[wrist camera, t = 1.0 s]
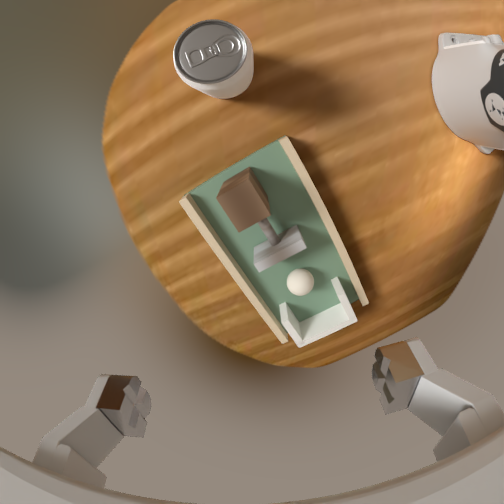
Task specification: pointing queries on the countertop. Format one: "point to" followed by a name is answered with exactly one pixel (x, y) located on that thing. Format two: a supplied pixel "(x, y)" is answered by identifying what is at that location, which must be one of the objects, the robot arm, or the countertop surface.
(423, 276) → the countertop surface
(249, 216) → the block
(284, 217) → the pitch
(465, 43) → the robot arm
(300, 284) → the ball
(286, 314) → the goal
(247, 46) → the can
